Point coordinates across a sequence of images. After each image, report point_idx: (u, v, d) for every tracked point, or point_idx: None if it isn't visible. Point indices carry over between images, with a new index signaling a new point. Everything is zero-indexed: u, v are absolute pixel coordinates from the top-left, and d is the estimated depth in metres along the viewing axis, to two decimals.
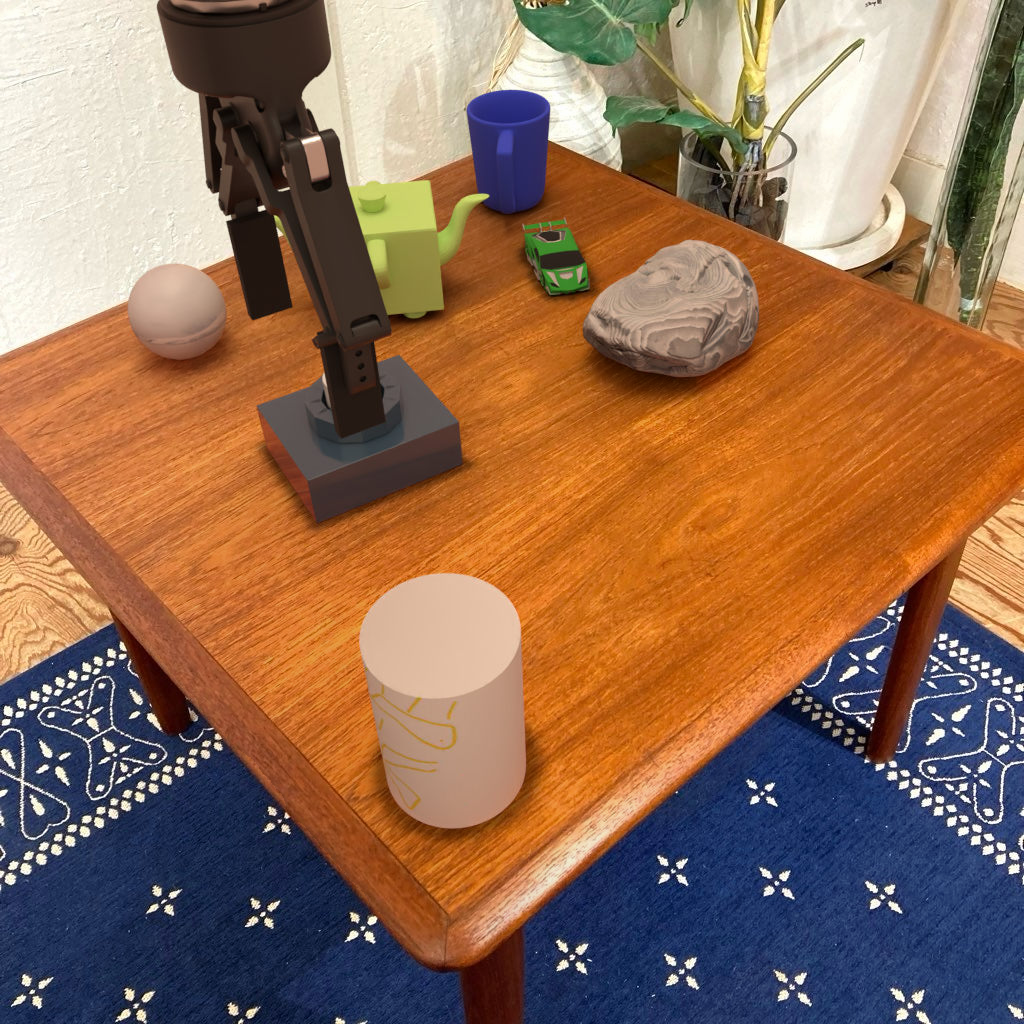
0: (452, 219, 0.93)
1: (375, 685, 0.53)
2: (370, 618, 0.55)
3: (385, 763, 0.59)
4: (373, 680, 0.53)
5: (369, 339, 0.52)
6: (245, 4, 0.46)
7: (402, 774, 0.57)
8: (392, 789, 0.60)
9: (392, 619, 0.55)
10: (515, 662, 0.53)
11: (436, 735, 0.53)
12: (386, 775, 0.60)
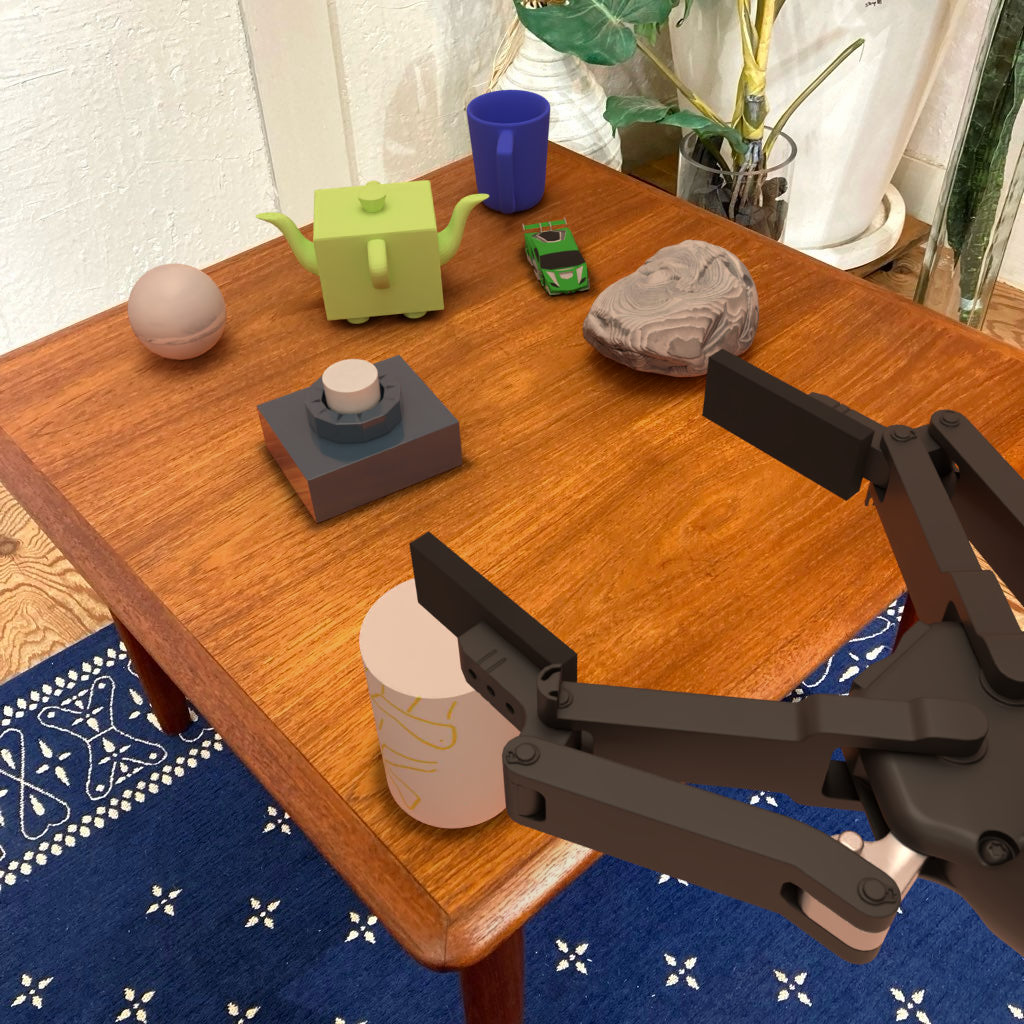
0: (452, 219, 0.93)
1: (375, 685, 0.53)
2: (370, 618, 0.55)
3: (385, 763, 0.59)
4: (373, 680, 0.53)
5: (506, 791, 0.28)
6: None
7: (402, 774, 0.57)
8: (392, 789, 0.60)
9: (392, 619, 0.55)
10: None
11: (436, 735, 0.53)
12: (386, 775, 0.60)
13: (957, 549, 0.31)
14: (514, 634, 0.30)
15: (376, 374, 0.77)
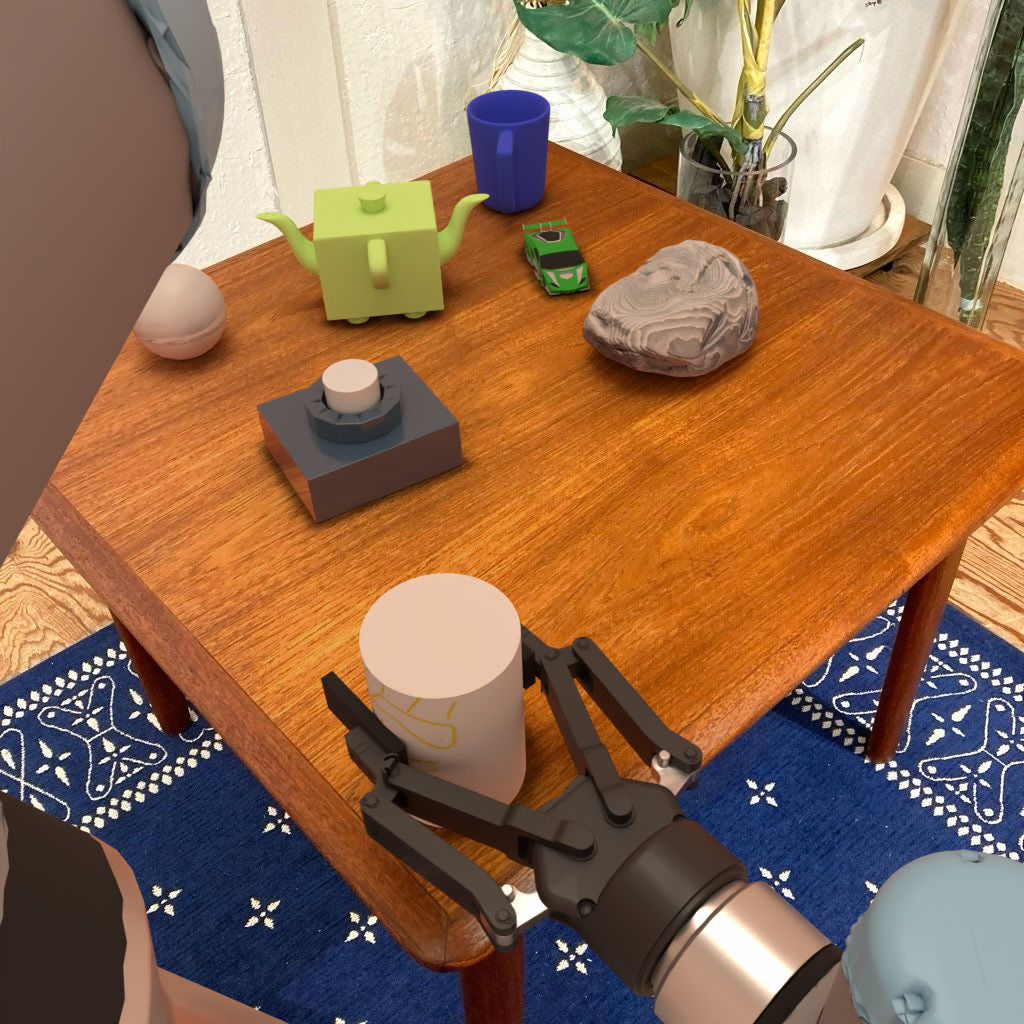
0: (452, 219, 0.93)
1: (375, 685, 0.53)
2: (370, 618, 0.55)
3: None
4: (373, 680, 0.53)
5: (363, 820, 0.53)
6: (657, 980, 0.46)
7: None
8: None
9: (392, 619, 0.55)
10: (515, 662, 0.53)
11: (436, 735, 0.53)
12: None
13: (587, 731, 0.54)
14: (373, 734, 0.55)
15: (376, 374, 0.77)
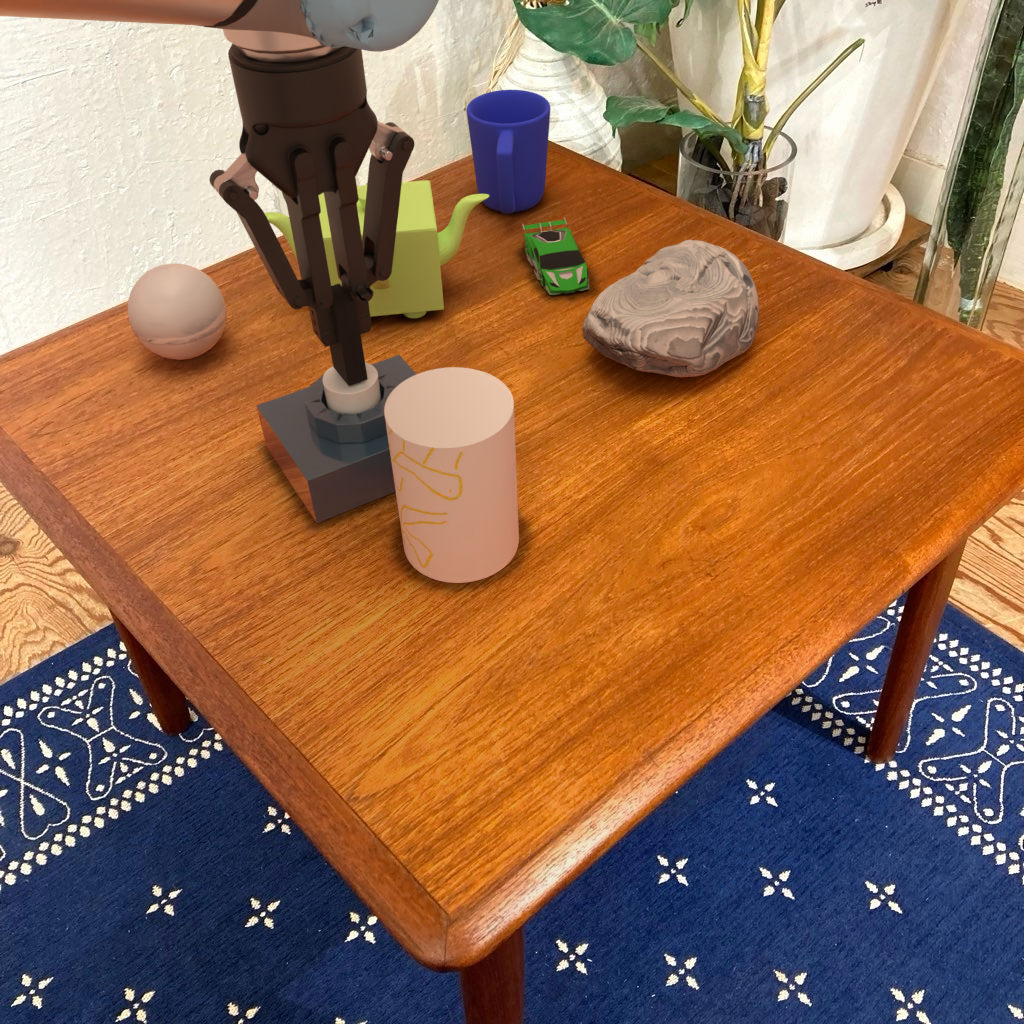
0: (452, 219, 0.93)
1: (397, 444, 0.66)
2: (392, 397, 0.68)
3: (403, 528, 0.72)
4: (396, 439, 0.66)
5: None
6: None
7: (418, 531, 0.70)
8: (409, 553, 0.73)
9: (410, 397, 0.68)
10: (509, 427, 0.66)
11: (446, 486, 0.66)
12: (404, 543, 0.74)
13: (310, 230, 0.67)
14: (358, 322, 0.73)
15: (376, 376, 0.77)
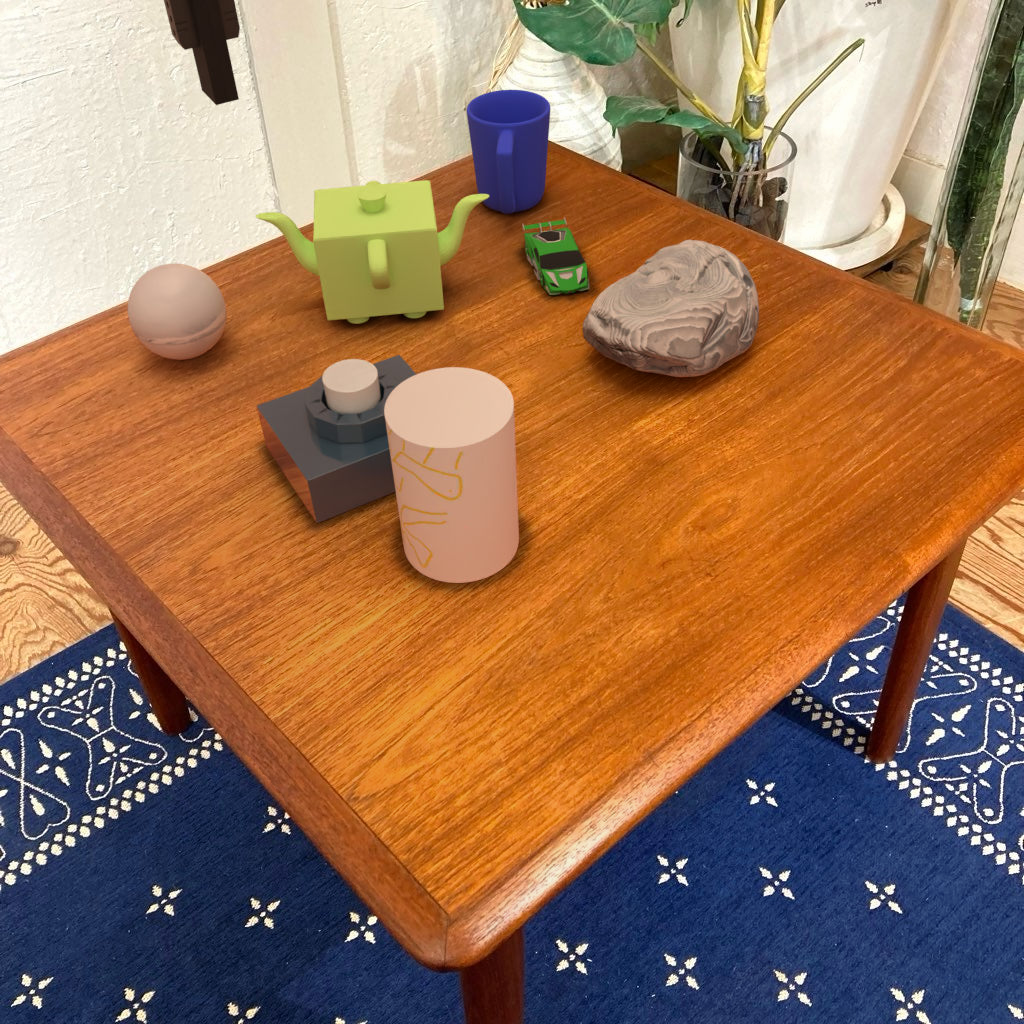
0: (452, 219, 0.93)
1: (397, 444, 0.66)
2: (392, 397, 0.68)
3: (403, 528, 0.72)
4: (396, 439, 0.66)
5: None
6: None
7: (418, 531, 0.70)
8: (409, 553, 0.73)
9: (410, 397, 0.68)
10: (509, 427, 0.66)
11: (446, 486, 0.66)
12: (404, 543, 0.74)
13: None
14: (221, 19, 0.64)
15: (376, 374, 0.77)
